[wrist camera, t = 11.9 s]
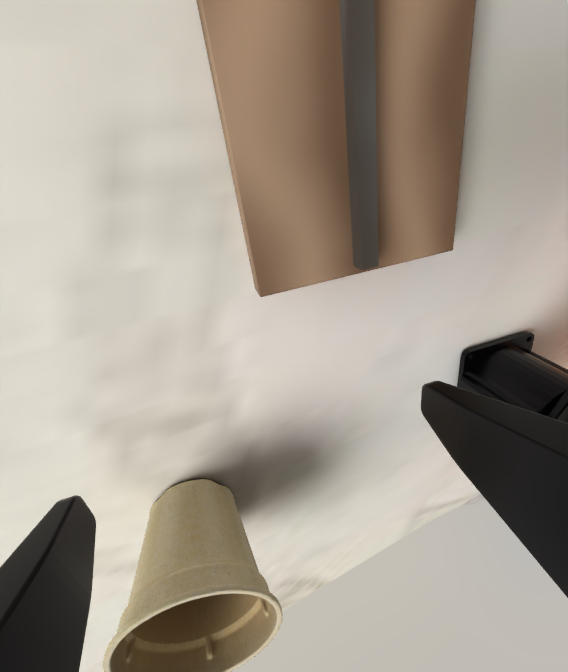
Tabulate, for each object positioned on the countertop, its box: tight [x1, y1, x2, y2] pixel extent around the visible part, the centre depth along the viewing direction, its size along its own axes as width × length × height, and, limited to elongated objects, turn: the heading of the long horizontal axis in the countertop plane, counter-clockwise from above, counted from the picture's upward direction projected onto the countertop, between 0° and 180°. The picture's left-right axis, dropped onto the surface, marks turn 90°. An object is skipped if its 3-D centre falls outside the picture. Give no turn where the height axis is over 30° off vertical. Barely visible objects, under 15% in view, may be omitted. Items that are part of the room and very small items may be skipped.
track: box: [197, 0, 476, 297], centre depth 13 cm, size 12×22×6 cm, turn 9°
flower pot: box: [103, 479, 282, 672], centre depth 22 cm, size 9×9×9 cm
